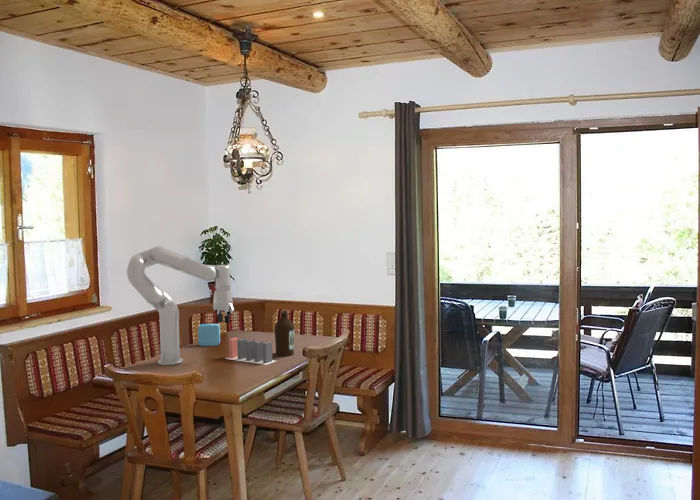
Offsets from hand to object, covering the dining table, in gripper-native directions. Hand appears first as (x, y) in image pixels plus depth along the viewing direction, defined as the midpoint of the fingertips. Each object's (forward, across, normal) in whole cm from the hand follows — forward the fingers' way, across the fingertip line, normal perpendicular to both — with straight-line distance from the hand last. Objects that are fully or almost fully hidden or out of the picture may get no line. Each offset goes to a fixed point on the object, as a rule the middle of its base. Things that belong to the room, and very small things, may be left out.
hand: (223, 322), depth 344 cm
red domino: (+18, +6, 0) cm, 19 cm away
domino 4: (+18, +28, 0) cm, 34 cm away
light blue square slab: (+20, -29, +20) cm, 40 cm away
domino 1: (+18, +12, 0) cm, 22 cm away
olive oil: (+19, +27, +18) cm, 37 cm away
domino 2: (+18, +18, 0) cm, 25 cm away
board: (+19, +18, 0) cm, 26 cm away
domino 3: (+18, +23, 0) cm, 29 cm away
